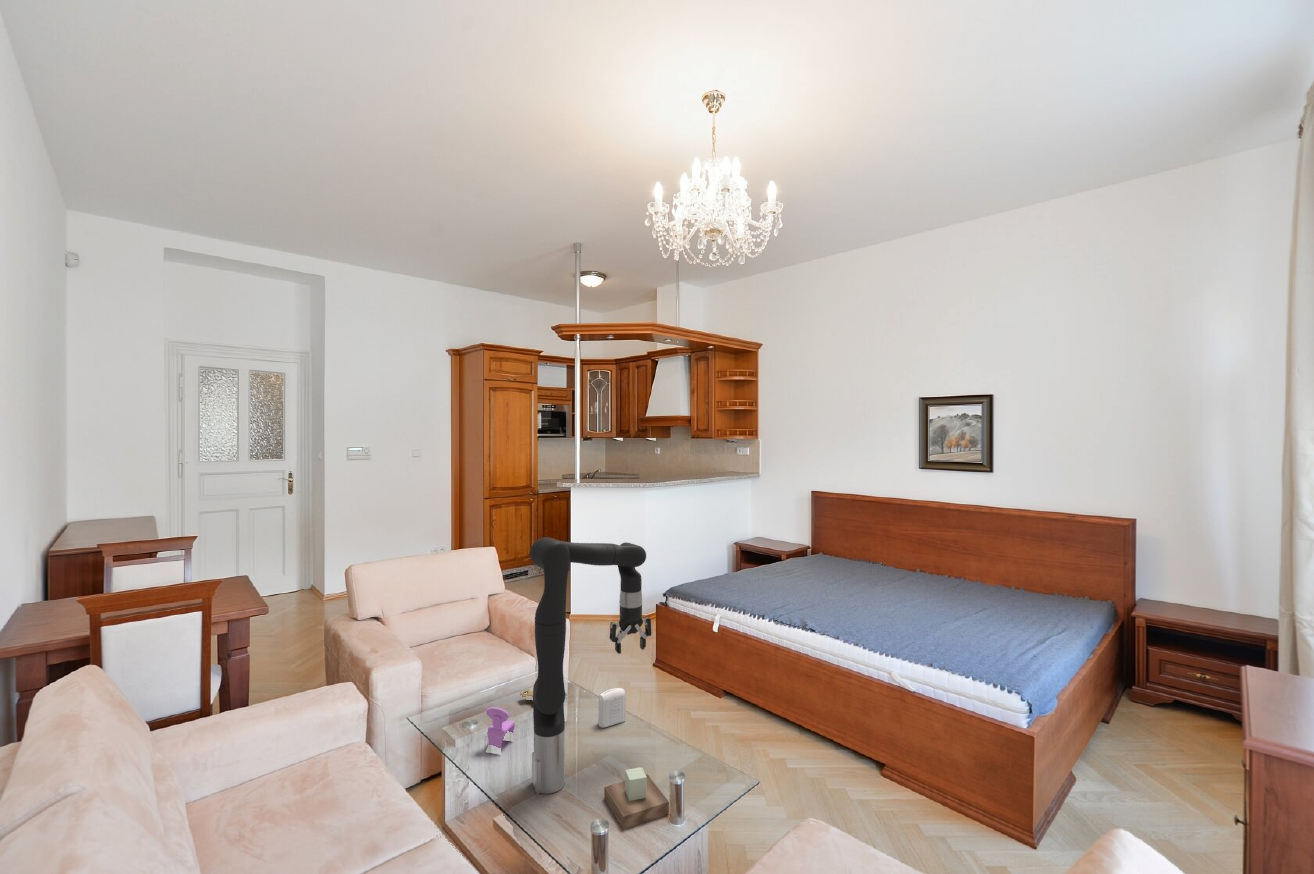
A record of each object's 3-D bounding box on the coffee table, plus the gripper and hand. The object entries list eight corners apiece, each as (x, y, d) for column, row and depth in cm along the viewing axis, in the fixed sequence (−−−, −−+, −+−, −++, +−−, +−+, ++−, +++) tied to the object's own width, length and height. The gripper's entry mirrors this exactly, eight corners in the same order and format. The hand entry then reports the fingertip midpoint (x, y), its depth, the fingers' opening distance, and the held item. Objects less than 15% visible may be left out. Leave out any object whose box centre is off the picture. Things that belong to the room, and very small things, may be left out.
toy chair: (518, 742, 201) (518, 699, 201) (504, 756, 193) (504, 711, 192) (496, 738, 204) (496, 695, 203) (482, 752, 195) (482, 708, 194)
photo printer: (621, 716, 219) (621, 683, 218) (627, 721, 215) (627, 688, 215) (596, 724, 213) (596, 690, 213) (602, 729, 210) (602, 695, 209)
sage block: (629, 800, 166) (629, 780, 166) (624, 789, 171) (625, 769, 171) (646, 797, 168) (646, 777, 167) (641, 786, 172) (641, 766, 172)
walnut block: (623, 830, 160) (623, 816, 160) (604, 800, 172) (604, 786, 172) (668, 815, 166) (668, 801, 166) (647, 786, 179) (647, 773, 178)
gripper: (615, 609, 190) (614, 658, 191) (654, 603, 196) (654, 651, 197) (606, 602, 197) (606, 650, 198) (645, 597, 203) (645, 643, 204)
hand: (630, 650), depth 197 cm, fingers open, 8 cm apart
